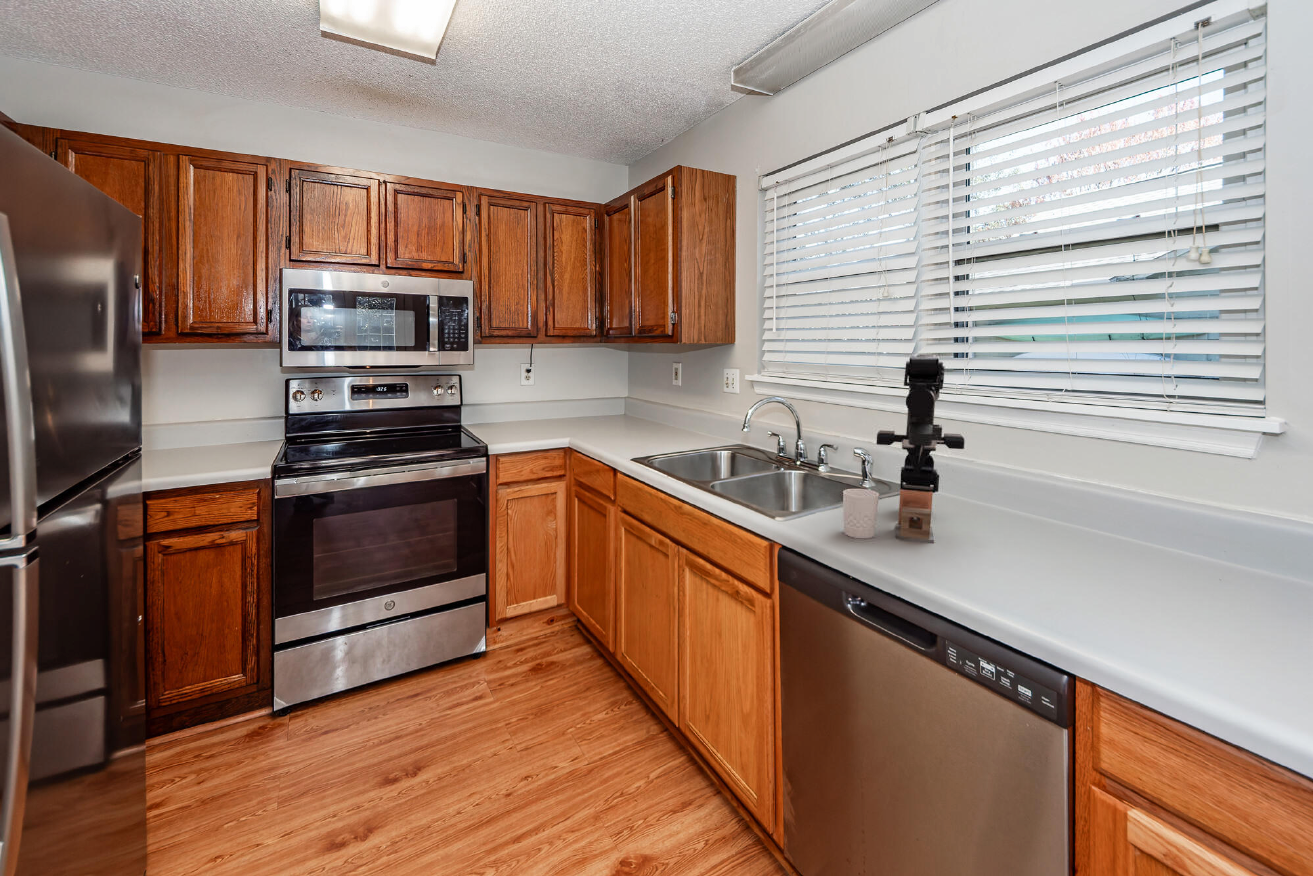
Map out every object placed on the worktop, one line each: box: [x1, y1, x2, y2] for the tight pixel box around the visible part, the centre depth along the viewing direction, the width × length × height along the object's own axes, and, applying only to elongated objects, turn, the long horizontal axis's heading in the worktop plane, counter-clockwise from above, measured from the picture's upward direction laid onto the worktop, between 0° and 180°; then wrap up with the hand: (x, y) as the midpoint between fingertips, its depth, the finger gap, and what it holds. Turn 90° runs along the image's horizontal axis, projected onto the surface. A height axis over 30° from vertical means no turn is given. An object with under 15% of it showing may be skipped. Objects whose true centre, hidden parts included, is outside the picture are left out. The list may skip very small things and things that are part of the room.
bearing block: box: [895, 507, 935, 544], centre depth 135 cm, size 10×8×7 cm
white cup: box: [842, 488, 880, 539], centre depth 135 cm, size 8×8×10 cm
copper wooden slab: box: [897, 488, 934, 526], centre depth 136 cm, size 5×7×9 cm
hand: (916, 475), depth 139 cm, fingers closed
